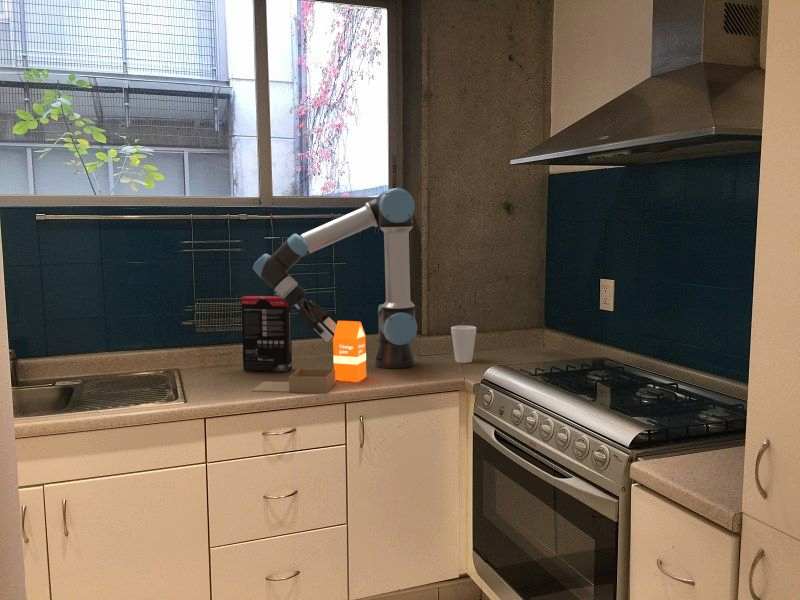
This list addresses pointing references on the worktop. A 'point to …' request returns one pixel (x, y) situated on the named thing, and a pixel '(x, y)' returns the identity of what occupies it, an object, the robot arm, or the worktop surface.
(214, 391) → the worktop surface
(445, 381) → the worktop surface
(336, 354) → the orange juice
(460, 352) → the foam cup
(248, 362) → the graphics card box
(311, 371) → the kraft mailer box
